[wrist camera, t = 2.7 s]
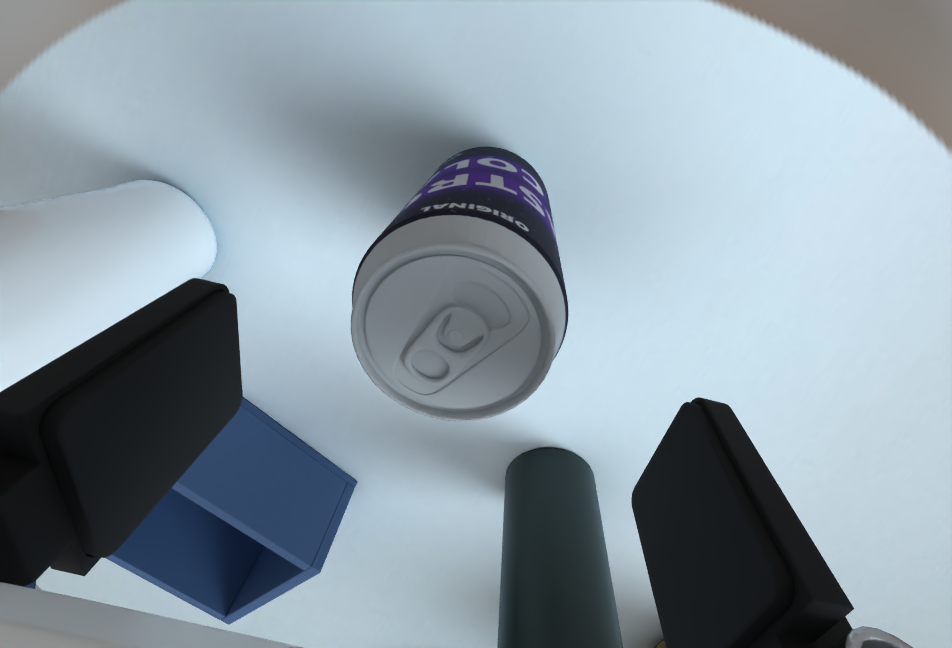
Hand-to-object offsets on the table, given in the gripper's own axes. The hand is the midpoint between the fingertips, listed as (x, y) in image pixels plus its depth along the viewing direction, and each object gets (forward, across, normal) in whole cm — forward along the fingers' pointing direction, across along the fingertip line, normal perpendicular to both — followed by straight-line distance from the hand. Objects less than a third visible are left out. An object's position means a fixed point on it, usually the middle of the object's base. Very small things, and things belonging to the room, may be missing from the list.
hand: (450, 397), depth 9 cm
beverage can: (+14, 0, 0) cm, 14 cm away
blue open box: (+14, +12, +22) cm, 28 cm away
